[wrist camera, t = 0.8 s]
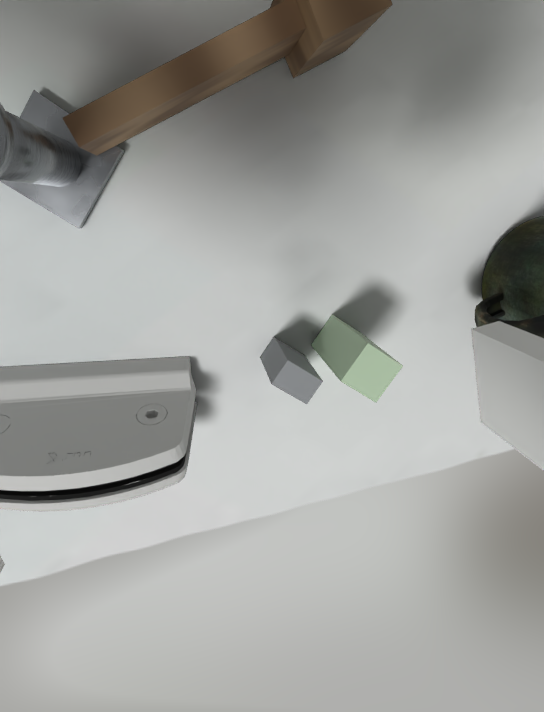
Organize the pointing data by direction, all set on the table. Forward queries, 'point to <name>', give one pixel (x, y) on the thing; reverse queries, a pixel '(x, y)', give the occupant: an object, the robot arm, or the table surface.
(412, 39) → the table surface
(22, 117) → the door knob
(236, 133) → the table surface
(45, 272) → the table surface
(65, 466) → the grey arched slab
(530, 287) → the dark green cylindrical container
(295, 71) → the wooden mallet
